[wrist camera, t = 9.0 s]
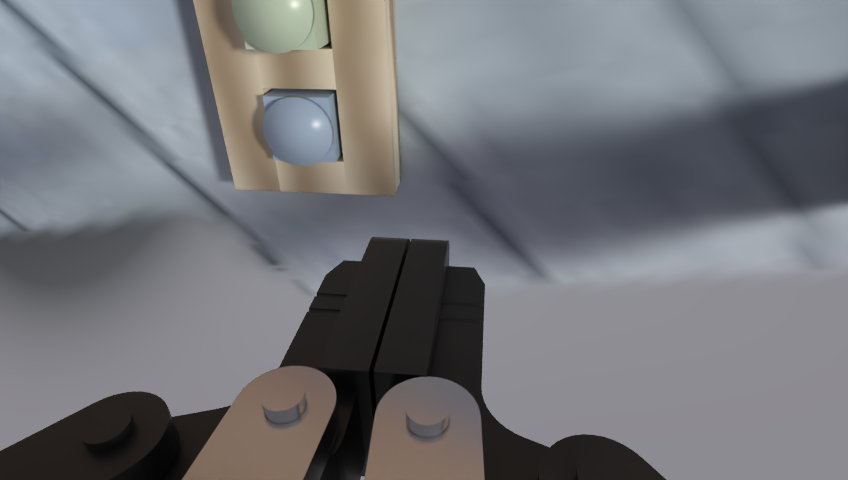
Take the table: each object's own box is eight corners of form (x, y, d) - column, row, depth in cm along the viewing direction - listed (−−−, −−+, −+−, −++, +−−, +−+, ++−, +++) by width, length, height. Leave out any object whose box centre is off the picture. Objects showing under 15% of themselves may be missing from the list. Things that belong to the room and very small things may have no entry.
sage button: (322, -40, 30) (305, -37, 27) (331, 43, 32) (316, 53, 29) (248, -39, 30) (223, -36, 27) (261, 43, 32) (240, 53, 30)
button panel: (383, -268, 26) (370, -291, 23) (401, 179, 39) (394, 196, 36) (165, -255, 27) (131, -274, 25) (252, 173, 40) (235, 189, 38)
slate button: (340, 86, 34) (326, 98, 32) (346, 150, 37) (334, 167, 34) (275, 84, 35) (256, 97, 32) (285, 148, 37) (269, 164, 35)
